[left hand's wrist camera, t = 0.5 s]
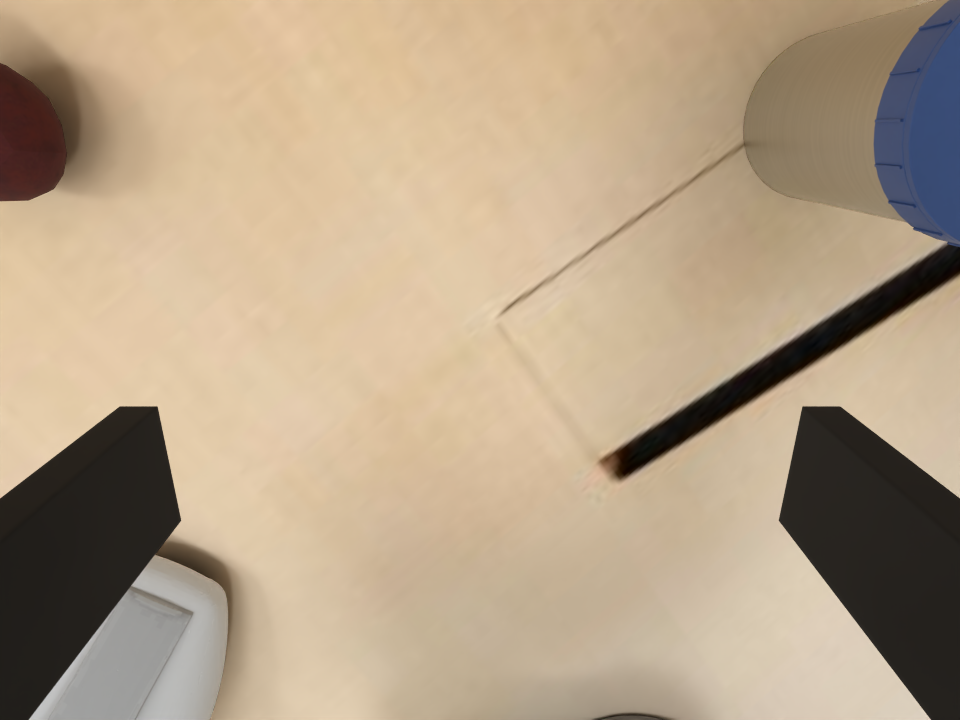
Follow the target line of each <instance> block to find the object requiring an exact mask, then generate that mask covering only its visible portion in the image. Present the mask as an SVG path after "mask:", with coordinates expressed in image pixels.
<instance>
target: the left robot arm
mask: <svg viewBox="0 0 960 720" xmlns="http://www.w3.org/2000/svg"><path fill="white" fill-rule="evenodd" d="M180 521H181V518H180V513H179V508H178V503H177V498H176V493H175V489H174V484H173V479H172V474H171V469H170V465H169V460H168V455H167V450H166V445H165V440H164V436H163V431H162V426H161V421H160V416H159V411H158V407H119V408H117V409H116V410H115V411H113V412H112V413H111V414H110V415H108V416H107V417H106V418H104V419H103V420H102V421H100V422H99V423H98V424H96V425H95V426H94V427H93V428H91V429H90V430H89V431H87V432H86V433H85V434H83V435H82V436H81V437H80V438H78V439H77V440H76V441H74V442H73V443H72V444H70V445H69V446H68V447H67V448H65V449H64V450H63V451H61V452H60V453H59V454H57V455H56V456H55V457H54V458H52V459H51V460H50V461H48V462H47V463H46V464H44V465H43V466H42V467H41V468H39V469H38V470H37V471H35V472H34V473H33V474H31V475H30V476H29V477H28V478H26V479H25V480H24V481H22V482H21V483H20V484H18V485H17V486H16V487H15V488H13V489H12V490H11V491H9V492H8V493H7V494H5V495H4V496H3V497H2V498H0V720H29V719H30V718H31V716H32V715H33V714H34V712H35V711H36V710H37V708H38V707H39V706H40V704H41V703H42V702H43V701H44V699H45V698H46V697H47V695H48V694H49V693H50V691H51V690H52V689H53V687H54V686H55V685H56V684H57V682H58V681H59V680H60V678H61V677H62V676H63V674H64V673H65V672H66V670H67V669H68V668H69V667H70V665H71V664H72V663H73V661H74V660H75V659H76V657H77V656H78V655H79V653H80V652H81V651H82V650H83V648H84V647H85V646H86V644H87V643H88V642H89V640H90V639H91V638H92V636H93V635H94V634H95V633H96V631H97V630H98V629H99V627H100V626H101V625H102V623H103V622H104V621H105V619H106V618H107V617H108V616H109V614H110V613H111V612H112V610H113V609H114V608H115V606H116V605H117V604H118V602H119V601H120V600H121V599H122V597H123V596H124V595H125V593H126V592H127V591H128V589H129V588H130V587H131V585H132V584H133V583H134V582H135V580H136V579H137V578H138V576H139V575H140V574H141V572H142V571H143V570H144V568H145V567H146V566H147V565H148V563H149V562H150V561H151V559H152V558H153V557H154V555H155V554H156V553H157V551H158V550H159V549H160V548H161V546H162V545H163V544H164V542H165V541H166V540H167V538H168V537H169V536H170V534H171V533H172V532H173V531H174V529H175V528H176V527H177V525H178V524H179V523H180ZM779 521H780V523H781V524H782V525H783V527H784V528H785V529H786V531H787V532H788V533H789V534H790V536H791V537H792V538H793V540H794V541H795V542H796V544H797V545H798V546H799V548H800V549H801V550H802V551H803V553H804V554H805V555H806V557H807V558H808V559H809V561H810V562H811V563H812V565H813V566H814V567H815V568H816V570H817V571H818V572H819V574H820V575H821V576H822V578H823V579H824V580H825V582H826V583H827V584H828V585H829V587H830V588H831V589H832V591H833V592H834V593H835V595H836V596H837V597H838V599H839V600H840V601H841V602H842V604H843V605H844V606H845V608H846V609H847V610H848V612H849V613H850V614H851V616H852V617H853V618H854V619H855V621H856V622H857V623H858V625H859V626H860V627H861V629H862V630H863V631H864V633H865V634H866V635H867V636H868V638H869V639H870V640H871V642H872V643H873V644H874V646H875V647H876V648H877V650H878V651H879V652H880V653H881V655H882V656H883V657H884V659H885V660H886V661H887V663H888V664H889V665H890V667H891V668H892V669H893V670H894V672H895V673H896V674H897V676H898V677H899V678H900V680H901V681H902V682H903V684H904V685H905V686H906V687H907V689H908V690H909V691H910V693H911V694H912V695H913V697H914V698H915V699H916V701H917V702H918V703H919V704H920V706H921V707H922V708H923V710H924V711H925V712H926V714H927V715H928V716H929V718H930V719H931V720H960V498H958V497H957V496H956V495H955V494H953V493H952V492H951V491H949V490H948V489H947V488H945V487H944V486H943V485H942V484H940V483H939V482H938V481H936V480H935V479H934V478H932V477H931V476H930V475H929V474H927V473H926V472H925V471H923V470H922V469H921V468H919V467H918V466H917V465H916V464H914V463H913V462H912V461H910V460H909V459H908V458H906V457H905V456H904V455H903V454H901V453H900V452H899V451H897V450H896V449H895V448H893V447H892V446H891V445H890V444H888V443H887V442H886V441H884V440H883V439H882V438H880V437H879V436H878V435H877V434H875V433H874V432H873V431H871V430H870V429H869V428H867V427H866V426H865V425H864V424H862V423H861V422H860V421H858V420H857V419H856V418H854V417H853V416H852V415H850V414H849V413H848V412H847V411H845V410H844V409H843V408H841V407H802V411H801V416H800V421H799V426H798V431H797V436H796V440H795V445H794V450H793V455H792V460H791V465H790V469H789V474H788V479H787V484H786V489H785V493H784V498H783V503H782V508H781V513H780V518H779ZM601 720H662V719H658V718H653V717H648V716H634V715H629V716H616V717H610V718H605V719H601Z"/></svg>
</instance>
